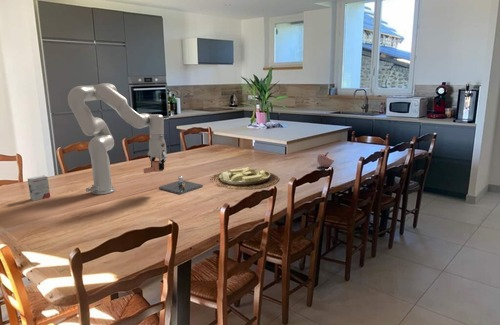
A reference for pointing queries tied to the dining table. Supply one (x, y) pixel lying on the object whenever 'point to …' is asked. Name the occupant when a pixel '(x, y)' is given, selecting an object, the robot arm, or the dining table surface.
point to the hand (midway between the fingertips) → (157, 168)
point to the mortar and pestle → (324, 160)
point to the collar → (153, 167)
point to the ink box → (38, 187)
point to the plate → (246, 179)
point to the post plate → (180, 186)
